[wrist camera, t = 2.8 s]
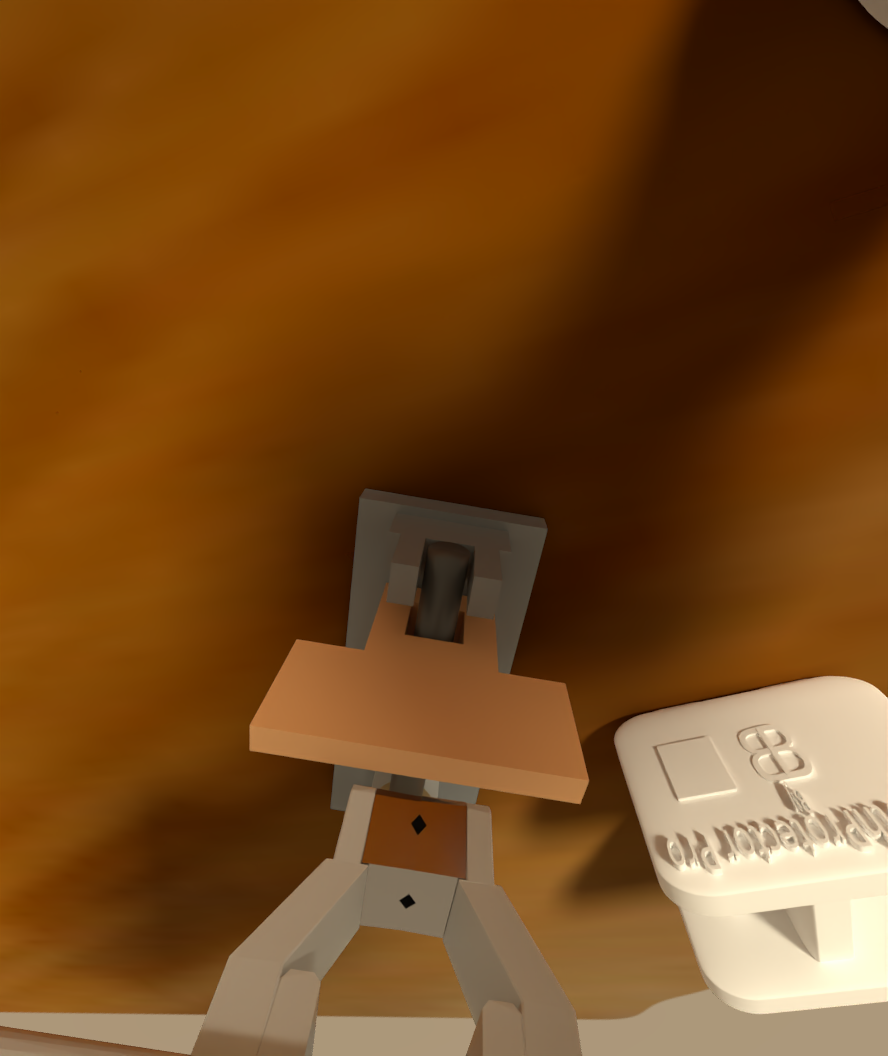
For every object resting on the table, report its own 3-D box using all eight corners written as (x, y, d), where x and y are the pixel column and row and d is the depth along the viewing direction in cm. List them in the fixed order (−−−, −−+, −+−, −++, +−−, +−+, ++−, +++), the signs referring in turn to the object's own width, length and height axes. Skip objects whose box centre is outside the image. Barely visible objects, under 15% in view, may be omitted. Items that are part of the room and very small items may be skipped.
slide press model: (365, 488, 27) (330, 544, 21) (544, 518, 28) (565, 583, 21) (335, 790, 37) (305, 894, 30) (468, 811, 37) (467, 920, 31)
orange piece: (332, 573, 27) (249, 725, 17) (547, 609, 28) (589, 780, 17) (325, 660, 30) (249, 838, 20) (523, 693, 30) (548, 886, 20)
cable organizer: (634, 815, 36) (700, 1023, 26) (603, 707, 33) (665, 898, 22) (858, 775, 34) (1035, 989, 23) (852, 653, 30) (1061, 841, 19)
